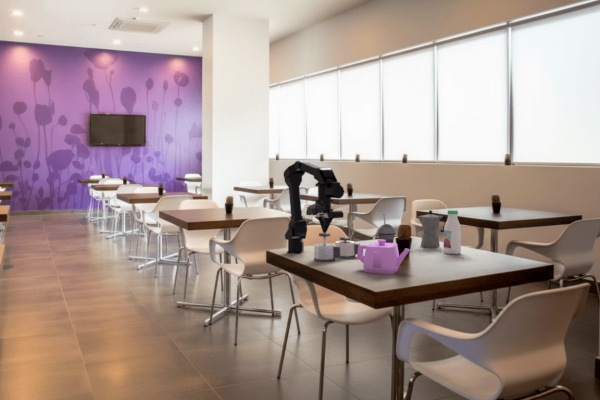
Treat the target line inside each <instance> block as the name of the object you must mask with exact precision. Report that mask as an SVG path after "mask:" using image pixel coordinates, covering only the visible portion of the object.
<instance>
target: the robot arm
mask: <svg viewBox="0 0 600 400" xmlns="http://www.w3.org/2000/svg"><path fill="white" fill-rule="evenodd" d="M306 173H307V174H309V175H312V176H313V179H315V180H316V181H317V182H316V183H315V187H317V199H315V203H313V204H311V205H309V206H307V207H306V214H305V215H306V216H314V218H315V219H316V220H317V221H318V222H319V225H320V227H321V230H322V233H328V232H327V231H328V229H329V227H330V225H331V223H332V222H333V219H342V218H344V212H343V210H334V208H332V203H334V199H338V200H339V199H342V197H343V196H344V194H345V190H344V187H343V186H342V185H341V182H338V179H337V177H336V175H335V172H334V171H333V169H332V168H330V167H321V166H318V165H315V164H314V163H313V164H312V163H310V162H308V161H306V160H303V159H302V160H296V161H295V162H294V163H293V164H291V165H289V166H287V168H286V169H285V170H284V171H283V179H284V183H285V184H286V186H287V187H288V193H289V194H288V195H289V205H290V206H289V207H290V218H291V219H290V220H289V222H288V227H287V228H288V229H287V230H286V232H285V233H284V240H287V241H288V242H287V247H288V248H287V249H288V251H286V253H291V254H301V253H303V252H305V251H304V250H305V246H304V245H305V244H304V243H305V242H304V240H305V239H306V237H307V232H308V226H307V222H308V221H307V220H305V219H304V218H303V216H302V214H303V213H302V203H301V190H300V186H301V184H302V181H303V176H304V175H305V174H306Z"/></svg>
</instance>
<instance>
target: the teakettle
mask: <svg viewBox="0 0 600 400" xmlns="http://www.w3.org/2000/svg"><path fill="white" fill-rule="evenodd" d="M385 242H386V240H383V239H380V240H379V239H378V240H377V242H376V241H374V242H373V241H372V242H371V243H369V244H360V245H359V246H358V253H357V254H356V259H357V260H359V261H360V262H362V263H363V270H364V273H366V274H378V275H393V274H395V273H397V272H398V271H399V267H400V264H401V263H402V262H403V260H404V259H405V258H406V256H408V254H409V252H410V251H411V250H410V249H409V248H404V249H403V251H402V252H401V253H399V248H398V243H395V242H393V243H385ZM364 249H365V252H364Z"/></svg>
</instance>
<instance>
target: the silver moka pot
mask: <svg viewBox="0 0 600 400" xmlns="http://www.w3.org/2000/svg"><path fill="white" fill-rule="evenodd" d="M313 246H314V248H313V249H314V253H313V256H314V257H313V260H314V261H316V262H334V261H335V260H336V259H341V258H340V247H335V244H334V243H327V242H326V245H323V242H322V243H321V242H320V243H316V244H314V245H313Z"/></svg>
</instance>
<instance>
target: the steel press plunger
mask: <svg viewBox="0 0 600 400" xmlns="http://www.w3.org/2000/svg"><path fill="white" fill-rule="evenodd" d="M318 237H323V238H322V239H323V241H322V243H323V245H326V243H327V237H331V233H330V232H326V233H323V232H318Z"/></svg>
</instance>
